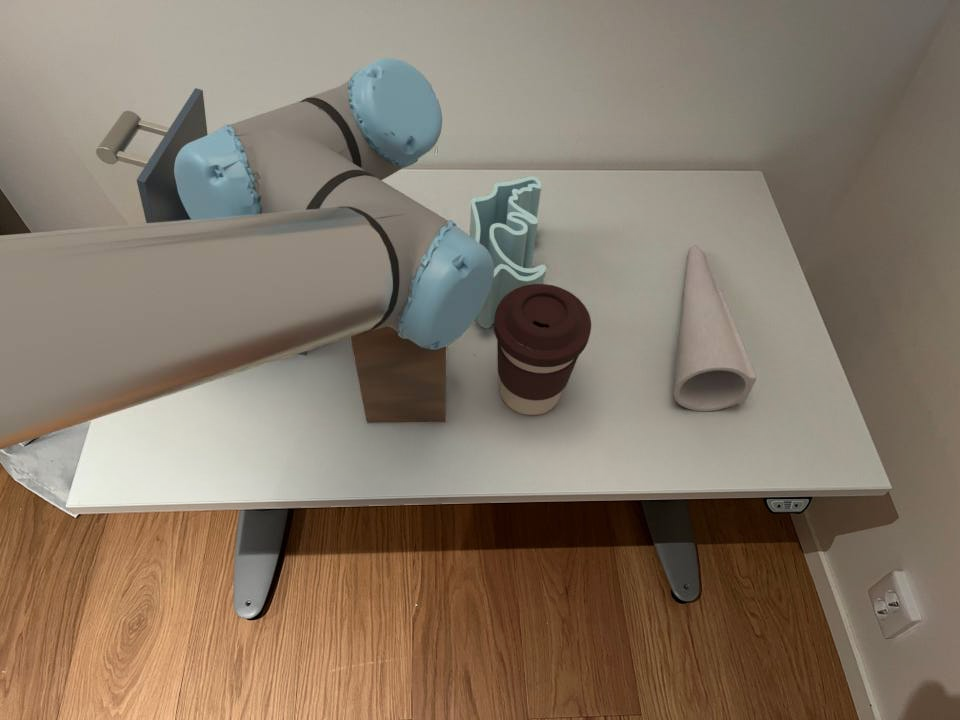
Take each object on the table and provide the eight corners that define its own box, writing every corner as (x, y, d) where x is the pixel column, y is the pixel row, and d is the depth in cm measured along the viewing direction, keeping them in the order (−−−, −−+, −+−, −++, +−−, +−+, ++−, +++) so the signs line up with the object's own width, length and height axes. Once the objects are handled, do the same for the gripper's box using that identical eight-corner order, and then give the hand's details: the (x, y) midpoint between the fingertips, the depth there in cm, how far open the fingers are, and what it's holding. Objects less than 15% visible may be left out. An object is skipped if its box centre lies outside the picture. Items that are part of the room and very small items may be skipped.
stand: (366, 423, 77) (342, 296, 59) (370, 358, 82) (349, 223, 64) (446, 422, 77) (446, 295, 60) (445, 357, 83) (445, 223, 65)
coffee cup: (532, 343, 84) (547, 258, 72) (589, 396, 80) (614, 316, 68) (470, 384, 81) (475, 302, 68) (526, 442, 76) (542, 366, 64)
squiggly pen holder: (462, 231, 95) (464, 178, 88) (532, 228, 96) (539, 176, 89) (474, 333, 85) (477, 283, 77) (552, 329, 86) (563, 279, 78)
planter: (645, 222, 91) (683, 366, 74) (709, 224, 92) (762, 368, 74) (634, 267, 97) (667, 410, 80) (694, 268, 97) (740, 412, 80)
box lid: (202, 89, 71) (135, 70, 70) (145, 182, 62) (68, 161, 61) (214, 195, 83) (157, 180, 82) (167, 284, 74) (103, 268, 73)
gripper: (249, 287, 56) (171, 326, 72) (415, 135, 69) (318, 196, 86) (181, 214, 53) (116, 271, 70) (368, 70, 67) (276, 146, 83)
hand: (227, 230), depth 78 cm, fingers open, 13 cm apart
